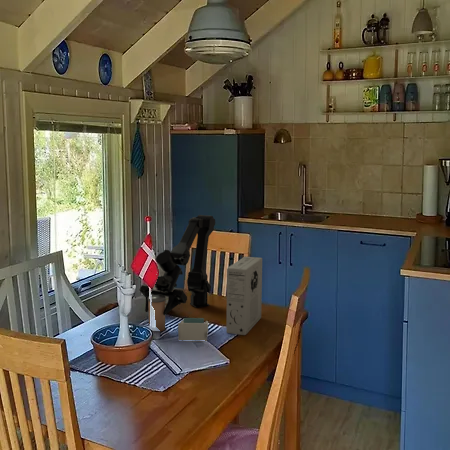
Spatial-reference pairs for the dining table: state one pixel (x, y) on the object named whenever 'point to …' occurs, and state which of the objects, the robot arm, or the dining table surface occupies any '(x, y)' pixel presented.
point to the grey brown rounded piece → (158, 310)
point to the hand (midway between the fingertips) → (154, 313)
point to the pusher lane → (192, 331)
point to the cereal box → (244, 295)
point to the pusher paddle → (193, 320)
